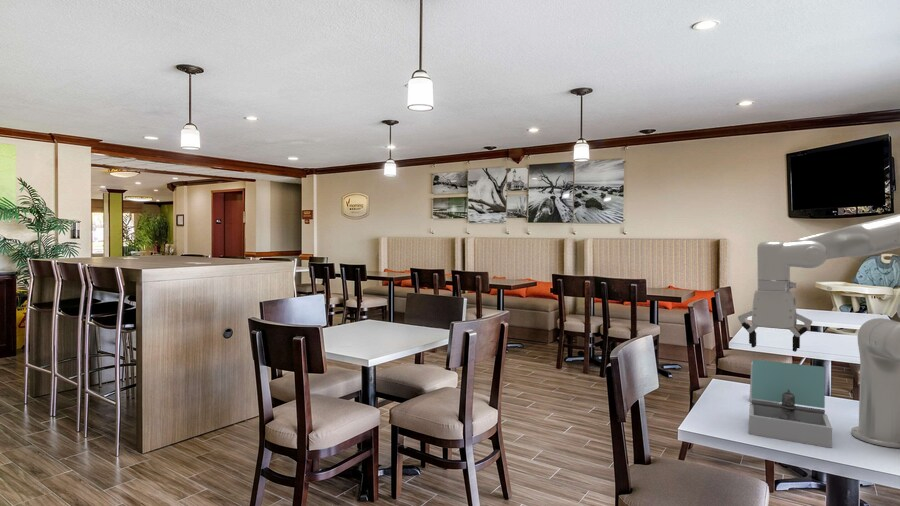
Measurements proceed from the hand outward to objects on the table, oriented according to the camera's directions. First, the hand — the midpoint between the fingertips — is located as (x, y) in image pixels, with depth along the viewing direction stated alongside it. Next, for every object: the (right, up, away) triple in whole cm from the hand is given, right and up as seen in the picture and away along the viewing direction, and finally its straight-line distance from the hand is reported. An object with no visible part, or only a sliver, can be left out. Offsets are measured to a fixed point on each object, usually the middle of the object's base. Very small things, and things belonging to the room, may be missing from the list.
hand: (773, 348), depth 142 cm
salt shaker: (+2, -23, -2) cm, 23 cm away
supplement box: (+13, -22, +25) cm, 36 cm away
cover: (+5, -11, +3) cm, 12 cm away
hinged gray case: (+2, -22, -2) cm, 23 cm away
